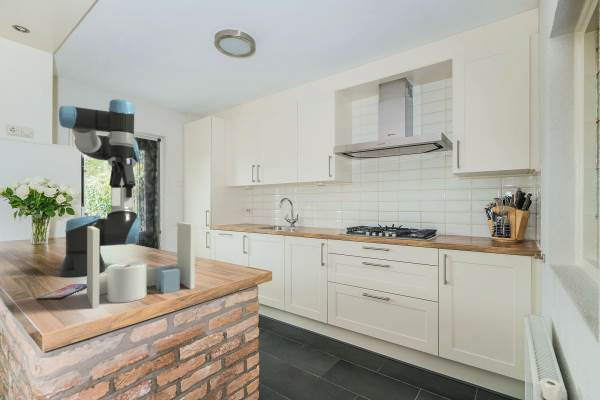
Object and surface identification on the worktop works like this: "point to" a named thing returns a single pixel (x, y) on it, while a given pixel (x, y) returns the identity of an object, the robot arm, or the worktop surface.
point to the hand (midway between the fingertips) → (121, 206)
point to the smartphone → (63, 292)
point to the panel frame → (184, 264)
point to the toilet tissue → (126, 281)
